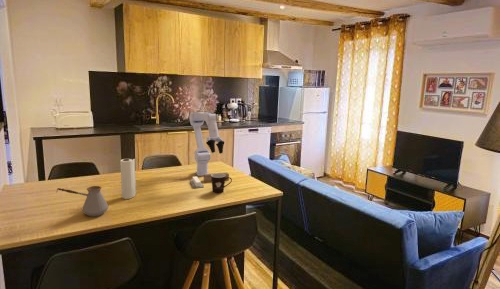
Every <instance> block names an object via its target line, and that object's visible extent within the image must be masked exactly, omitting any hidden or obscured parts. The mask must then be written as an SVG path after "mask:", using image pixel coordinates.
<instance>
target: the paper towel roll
mask: <svg viewBox="0 0 500 289" xmlns="http://www.w3.org/2000/svg"><path fill="white" fill-rule="evenodd" d="M119 162H120V164H119V165H120V179H121V180H120V184H121V186H120V187H121V198H122V199H125V200H128V199H132V198H134V197H135V196H136V195H137V182H136V181H137V180H136V177H137V176H136V158H133V159H132V158H123V159H120V161H119Z"/></svg>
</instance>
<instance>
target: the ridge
mask: <svg viewBox="0 0 500 289" xmlns="http://www.w3.org/2000/svg"><path fill="white" fill-rule="evenodd" d="M189 182H190V184H191V187H192V188H193V189H200V188H205V187H204V184H202V182H201V180H200V179H199V176H198V175H196V176H192V179H190V180H189Z"/></svg>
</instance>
